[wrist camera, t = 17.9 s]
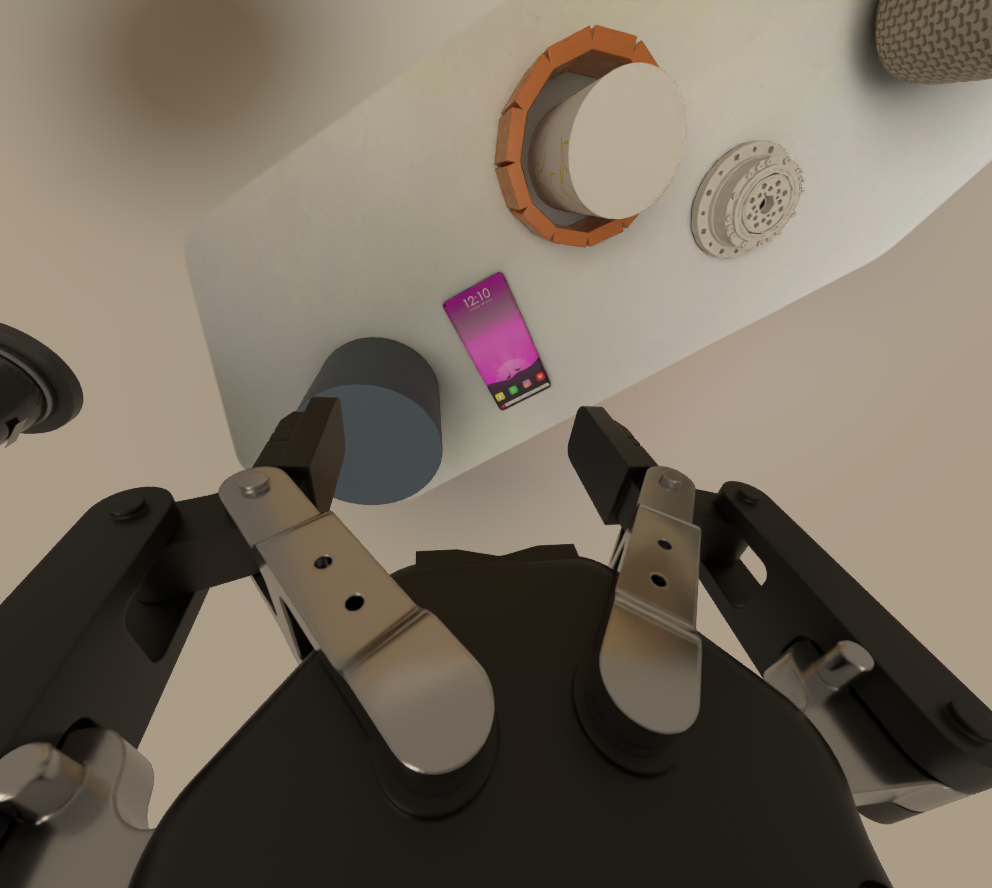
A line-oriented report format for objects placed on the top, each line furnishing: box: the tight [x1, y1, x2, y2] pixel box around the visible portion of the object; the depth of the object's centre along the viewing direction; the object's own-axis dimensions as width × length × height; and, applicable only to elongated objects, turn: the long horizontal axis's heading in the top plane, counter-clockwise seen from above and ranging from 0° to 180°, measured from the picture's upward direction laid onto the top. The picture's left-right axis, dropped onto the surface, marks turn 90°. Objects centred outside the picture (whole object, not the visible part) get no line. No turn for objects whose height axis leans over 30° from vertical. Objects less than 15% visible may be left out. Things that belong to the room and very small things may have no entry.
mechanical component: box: [691, 141, 804, 258], centre depth 37 cm, size 10×4×10 cm
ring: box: [495, 25, 659, 247], centre depth 32 cm, size 13×13×6 cm
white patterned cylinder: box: [528, 63, 686, 219], centre depth 30 cm, size 8×8×12 cm
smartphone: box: [443, 272, 551, 410], centre depth 43 cm, size 7×15×1 cm, turn 26°
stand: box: [296, 338, 442, 505], centre depth 40 cm, size 14×14×12 cm
